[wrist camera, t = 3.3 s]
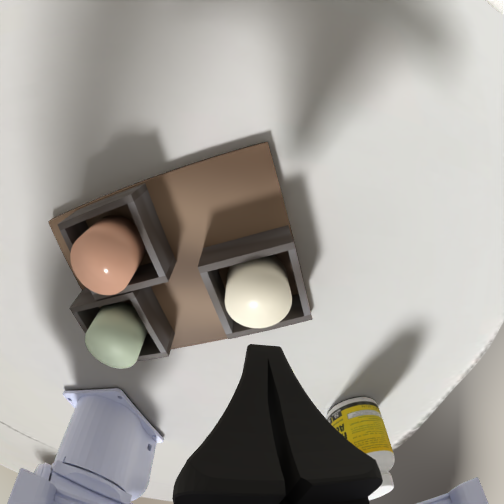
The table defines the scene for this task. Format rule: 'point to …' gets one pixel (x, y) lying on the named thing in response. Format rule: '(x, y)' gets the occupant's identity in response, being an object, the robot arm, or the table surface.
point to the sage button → (116, 335)
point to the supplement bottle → (365, 435)
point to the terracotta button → (107, 255)
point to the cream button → (258, 292)
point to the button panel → (193, 247)
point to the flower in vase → (497, 5)
